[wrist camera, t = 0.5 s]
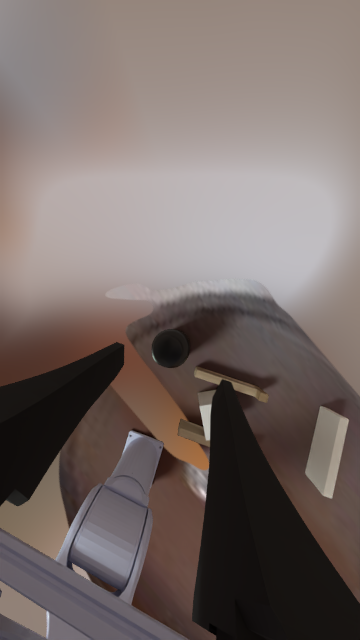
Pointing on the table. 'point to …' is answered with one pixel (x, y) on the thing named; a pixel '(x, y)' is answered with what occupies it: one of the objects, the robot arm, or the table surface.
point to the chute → (196, 431)
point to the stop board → (326, 450)
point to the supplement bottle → (171, 348)
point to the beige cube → (206, 410)
